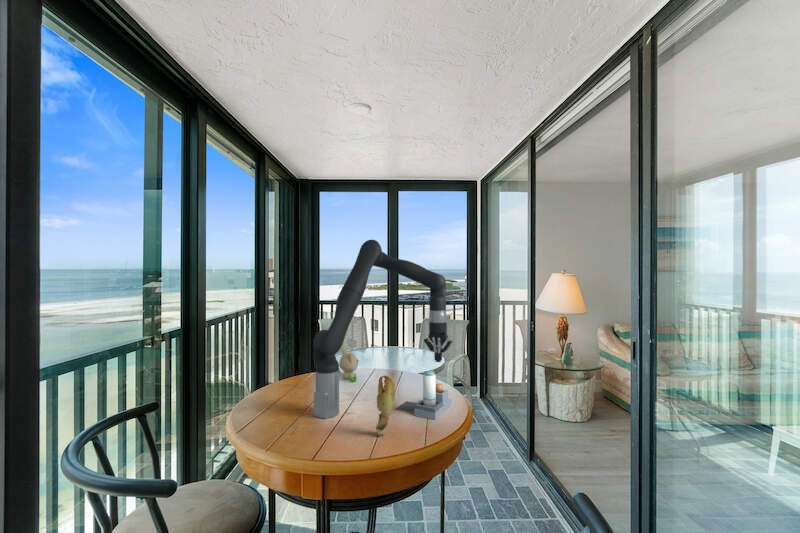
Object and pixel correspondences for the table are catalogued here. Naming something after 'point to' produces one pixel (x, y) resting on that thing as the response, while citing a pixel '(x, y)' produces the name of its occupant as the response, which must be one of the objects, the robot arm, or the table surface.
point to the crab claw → (384, 403)
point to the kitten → (348, 365)
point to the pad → (407, 406)
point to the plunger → (439, 387)
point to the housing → (435, 412)
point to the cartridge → (429, 389)
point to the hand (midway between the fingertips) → (438, 361)
